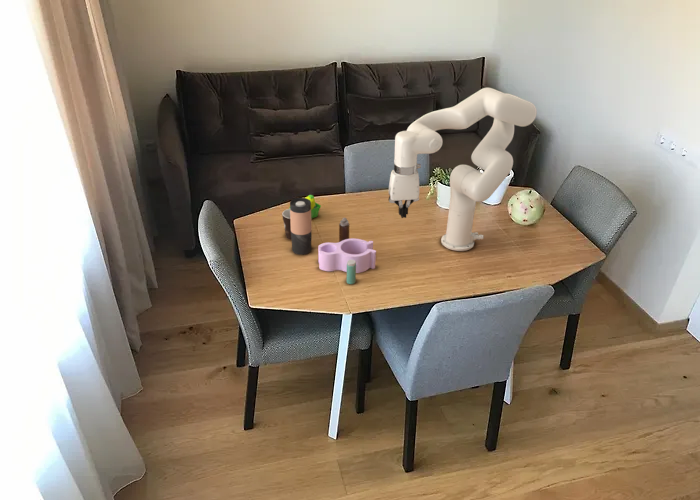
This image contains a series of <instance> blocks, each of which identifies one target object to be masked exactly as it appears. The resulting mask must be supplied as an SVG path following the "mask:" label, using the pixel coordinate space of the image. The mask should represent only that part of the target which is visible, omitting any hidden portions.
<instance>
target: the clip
mask: <svg viewBox="0 0 700 500" xmlns="http://www.w3.org/2000/svg"><path fill="white" fill-rule="evenodd" d="M317 248H318V257H317V258H318V265H319V266H318V267H319V268H318V269H319V270H321V271H325V272H334V271H343V272H345V273H347V261H348V260H355V261H356V274H359V273H363V272H366V271H368V270H370V269H373V270H374V269H376V259H377V250H375V249H374V241H373V240H369V241H367V240H365V239H363V238H362V239H361V238H353V237H351V238H349V239H345V240H343V241H341V242H339V241H338V242H328V241H327V242H323V243H321V244H319V245H318V246H317Z"/></svg>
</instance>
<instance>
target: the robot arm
mask: <svg viewBox="0 0 700 500" xmlns="http://www.w3.org/2000/svg"><path fill="white" fill-rule="evenodd" d="M537 113H538V112H537V107H536V105H535V104H534V103H533V102H531V101H529V100H526V99H525V98H521V97H519V96H517V95H515V94H511V93H508V92H502V91H500V90H497V89H495V88H493V87H483V88H481V89H479V90H478V91H476V92H475V93H473V94H471V95H469V96H468V97H467V98H465V99H463V100H462V101H460V102H459V103H457V104H456V105H454V106H451V107H445V108H442V109H438V110H434V111H431V112H430V111H429V112H428V113H426V114H423V115H422V116H421V117H419V118H417V119H416V120H415V121H413V122H412V123H410V125H409V126H408V127H407V129H406V130H402V131H399V132H397V133H396V134H395V135H394V156H393V157H394V158H393V159H394V161H393V169H392V170H391V172H390V175H389V183H388V195H389V196H388V202H389V203H390V204H395V205H397V207H398V215H399V216H400V218H401V219H406V218H407V215H408V214H409V208H410V206H411V205H412V204H413V203H414V202H415V203H416V202H419V201H420V176H419V175H420V174H419V171H418V169H421V168H422V164H421V163H418V155H429V154H434V153H436V152H439V150H440V149H441V148H442V146H443V144H444V143H443V141H444V140H443V137H442V135H440V133H438V132H437V131H441V130H467V128H469V127H471V126H473V125H474V124H475V123H477V122H479V121H481V120H482V119H484V118H485V117H487V116H489V117H491V118H493V123H492V126H491V127H490V129H489V131H487V133H486V135H485V136H484V137H483V138H482V140H481V141H480V142H479V143H478V144H477V145H476V147H475V148H474V150H473V151H472V153H471V156H470V160H471V162H472V163H473V164H474V165H475V166H476V167H478V168H479V169H481V170H482V171H483V172H481V171H479V170H478V169H476V168H474V167H473V166H471V165H468V164H459V165H457V166H455V167H454V168H453V169H452V171H451V173H450V175H449V191H450V197H449V205H448V216H447V221H446V232H445V234H443V235H442V236H441V239H440V242H441V245H442V246H443V247H444V248H446V249H448V250H451V251H455V252H465V251H468V250H471V249H472V248H474V246H475V241H483V240H484V234H479V232H473V226H474V219H475V211H476V205H477V203H483V202H486V201H487V200H488V199H489V198H491V196H493V194H494V193H495V192H496V191H497V189H498V188H499V187H500V185H502V183H503V182H504V181H505V179H506V178H507V177H508V176H509V174H510V173H511V171H512V169H513V167H514V166H513V165H514V158H513V155H512V154H511V153H510V152H509V151H507V150H506V149H507V148H508V147H509V145H510V144H511V142H512V141H513V138H514V136H515V135H514V134H515V126H517V127H522V128H523V127H527V126H530V125H531V124H532V123H533V122H534V121H535V120H536V117H537ZM403 201H404V202H403Z"/></svg>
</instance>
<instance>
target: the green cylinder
mask: <svg viewBox="0 0 700 500" xmlns="http://www.w3.org/2000/svg"><path fill="white" fill-rule="evenodd" d="M345 279H346V283H347V284H348V285H354V284H356V282H357V281H356V280H357V273H356V261H355V260H348V261H347V272H346V278H345Z"/></svg>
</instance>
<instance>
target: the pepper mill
mask: <svg viewBox="0 0 700 500" xmlns="http://www.w3.org/2000/svg"><path fill="white" fill-rule="evenodd" d="M345 239H350V223H349V220H348V219H347V217H342V219H341V220H340V222H339V223H338V242H341V241H343V240H345Z"/></svg>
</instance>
